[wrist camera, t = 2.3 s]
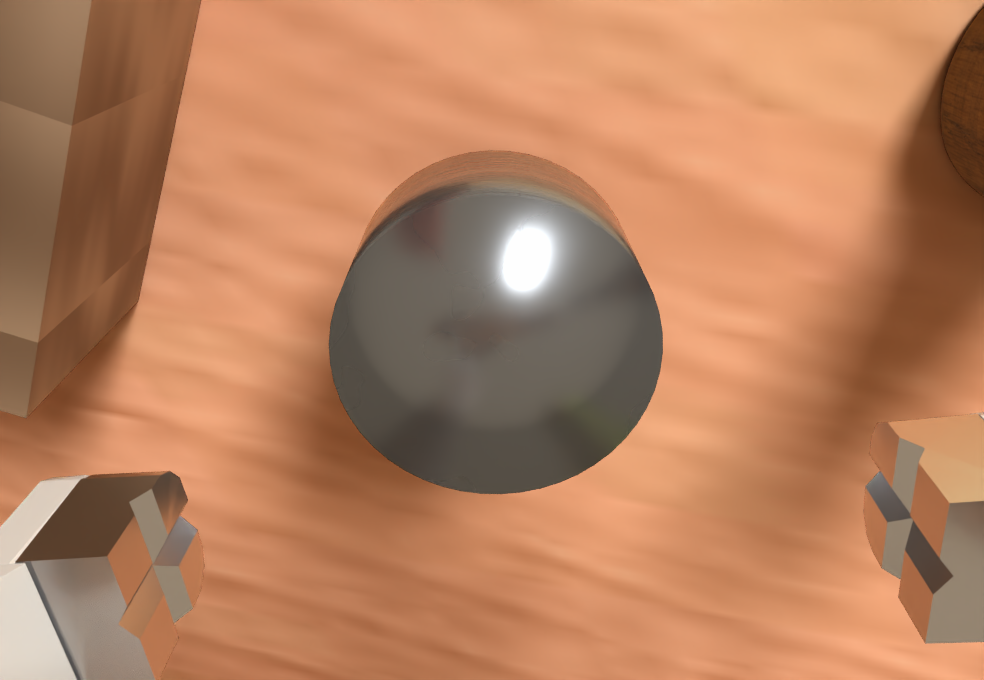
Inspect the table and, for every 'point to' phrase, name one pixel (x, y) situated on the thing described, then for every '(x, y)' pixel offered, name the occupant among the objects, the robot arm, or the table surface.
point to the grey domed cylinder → (495, 326)
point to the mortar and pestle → (966, 106)
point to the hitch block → (79, 173)
